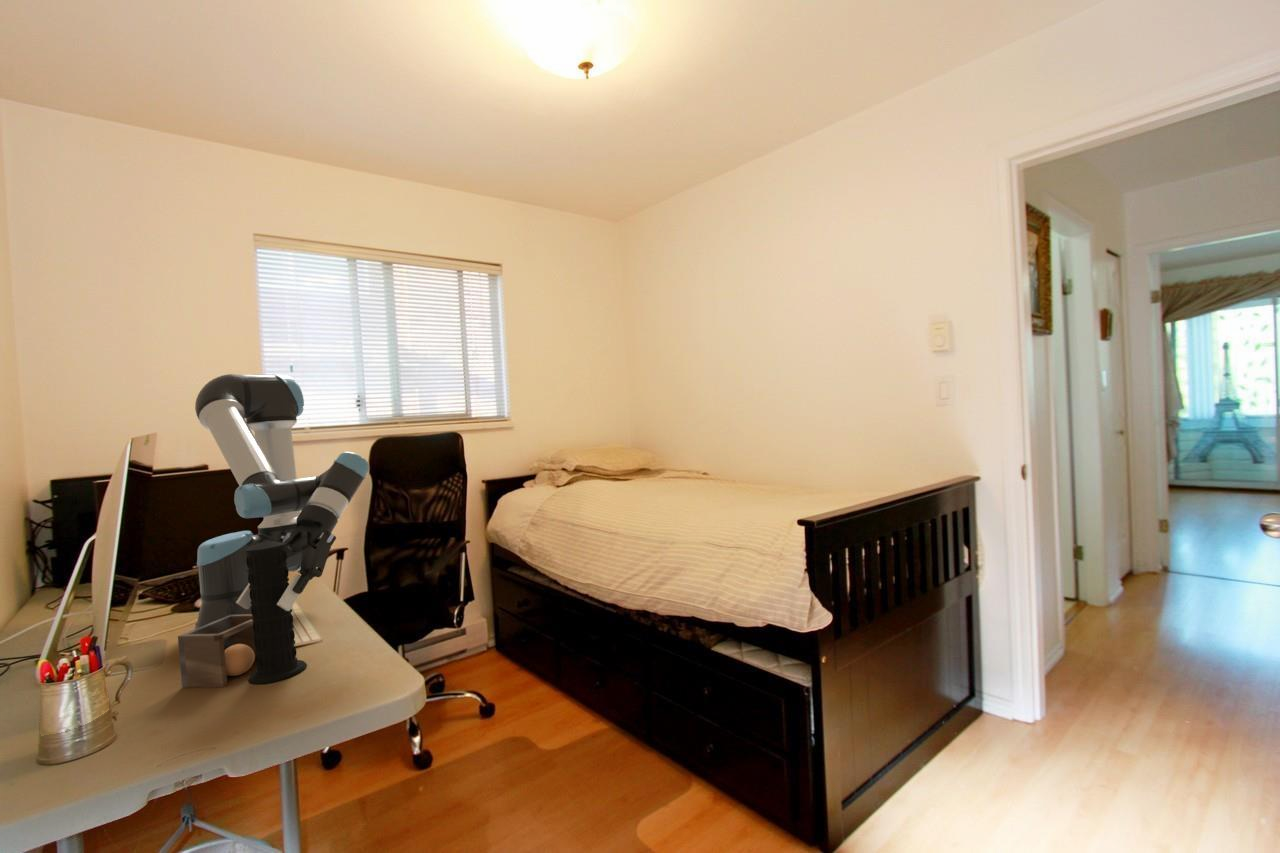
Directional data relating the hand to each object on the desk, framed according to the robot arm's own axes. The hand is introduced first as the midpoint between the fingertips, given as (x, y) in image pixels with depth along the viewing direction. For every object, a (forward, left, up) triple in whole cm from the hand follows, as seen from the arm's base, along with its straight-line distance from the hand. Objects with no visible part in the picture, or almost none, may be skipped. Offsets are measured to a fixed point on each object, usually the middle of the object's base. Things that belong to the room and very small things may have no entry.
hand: (262, 606), depth 114 cm
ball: (-1, -8, -11) cm, 14 cm away
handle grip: (-2, 0, -14) cm, 14 cm away
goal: (-2, -11, -14) cm, 18 cm away
